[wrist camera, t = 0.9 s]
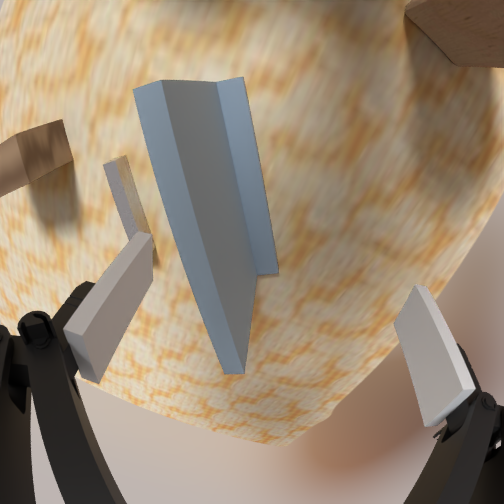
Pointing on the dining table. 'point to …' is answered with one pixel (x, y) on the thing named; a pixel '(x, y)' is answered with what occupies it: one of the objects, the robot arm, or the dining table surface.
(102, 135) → the dining table surface
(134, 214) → the cleat rail
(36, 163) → the wooden box
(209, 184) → the wall board
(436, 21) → the wooden block
